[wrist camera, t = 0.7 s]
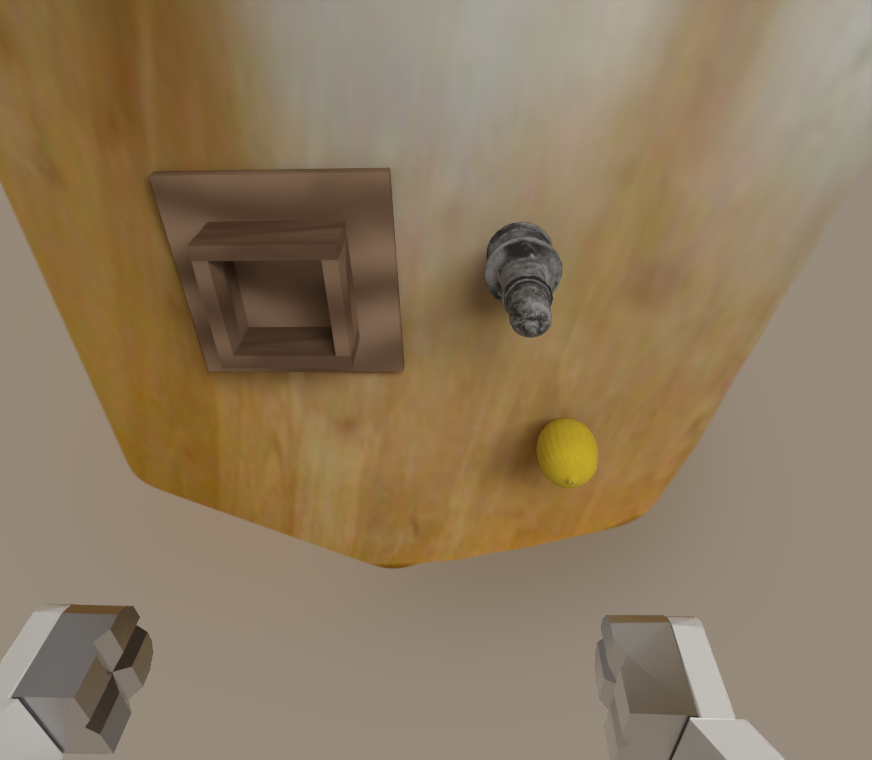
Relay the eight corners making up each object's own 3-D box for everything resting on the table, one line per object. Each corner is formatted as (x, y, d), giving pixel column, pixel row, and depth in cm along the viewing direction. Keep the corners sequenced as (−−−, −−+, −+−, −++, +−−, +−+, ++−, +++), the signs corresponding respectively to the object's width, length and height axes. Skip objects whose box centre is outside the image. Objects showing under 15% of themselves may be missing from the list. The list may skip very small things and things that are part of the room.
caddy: (153, 171, 46) (121, 197, 42) (389, 167, 45) (381, 194, 41) (212, 365, 57) (191, 402, 53) (404, 365, 56) (399, 402, 52)
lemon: (552, 393, 57) (563, 452, 51) (601, 414, 59) (618, 474, 52) (522, 432, 61) (529, 492, 54) (569, 451, 62) (581, 512, 55)
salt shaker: (518, 298, 52) (530, 384, 42) (468, 255, 49) (469, 334, 40) (572, 251, 49) (598, 331, 39) (521, 203, 47) (536, 275, 37)
